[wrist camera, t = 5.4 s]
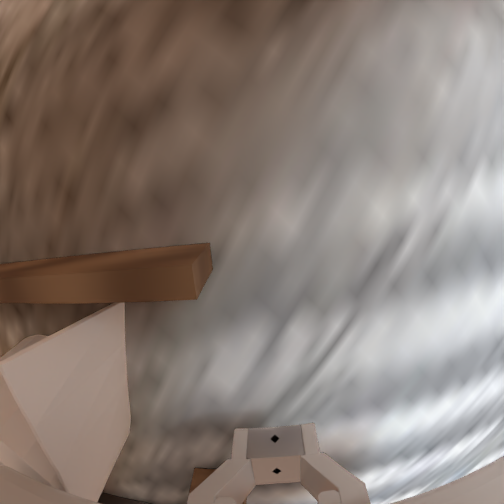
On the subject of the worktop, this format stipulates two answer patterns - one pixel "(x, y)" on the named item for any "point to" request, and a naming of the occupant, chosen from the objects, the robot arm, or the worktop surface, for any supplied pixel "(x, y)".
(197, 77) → the worktop surface
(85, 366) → the toilet paper
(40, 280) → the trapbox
